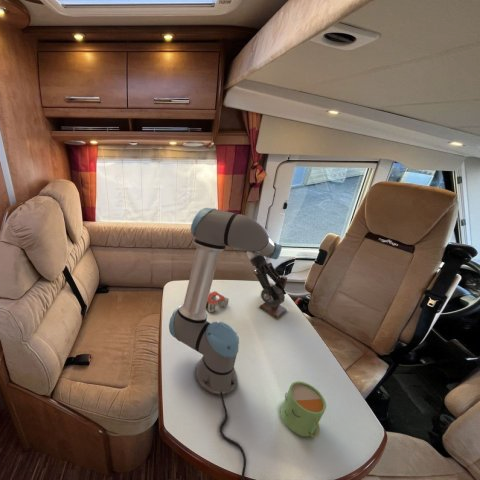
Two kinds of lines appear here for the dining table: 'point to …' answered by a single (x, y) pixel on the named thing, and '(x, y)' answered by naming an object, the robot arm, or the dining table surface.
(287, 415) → the mug
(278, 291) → the tape roll
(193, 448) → the dining table surface
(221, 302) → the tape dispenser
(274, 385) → the dining table surface
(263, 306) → the tape stand
